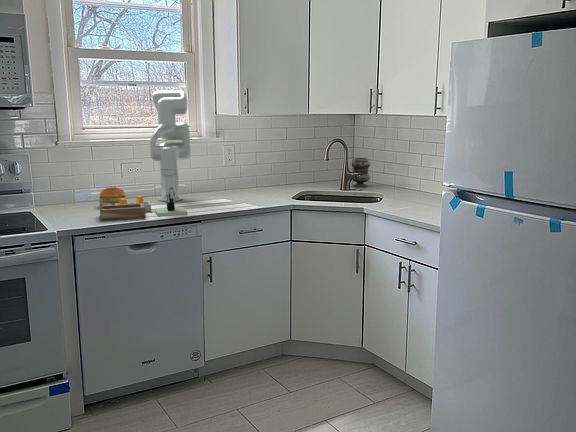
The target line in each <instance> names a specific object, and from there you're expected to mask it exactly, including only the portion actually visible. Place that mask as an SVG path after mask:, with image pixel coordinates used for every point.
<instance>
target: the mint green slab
mask: <svg viewBox="0 0 576 432" xmlns="http://www.w3.org/2000/svg"><path fill="white" fill-rule="evenodd" d="M167 205H168V200H167V201H166V206H167ZM154 212H155V214H156V216H157V217H169V216H170V217H171V216H182V215H185V216H186V215H188V211H187V210H186V209H185V207H183V206H181V207H179V206H178V207H177V206H176V207H175V210H174V211H168V210H167V207H165V208H164V207H162V208H155V209H154Z"/></svg>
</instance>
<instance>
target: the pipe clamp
mask: <svg viewBox="0 0 576 432" xmlns="http://www.w3.org/2000/svg"><path fill="white" fill-rule="evenodd" d="M143 202H144V196H143V195H137V196H136V199H135V203H134V204H137V203H143ZM128 203H129V202H127V198H125V199H124V198H122V199H120V204H128ZM143 205H144V204H143Z"/></svg>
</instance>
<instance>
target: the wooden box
mask: <svg viewBox="0 0 576 432" xmlns="http://www.w3.org/2000/svg"><path fill="white" fill-rule="evenodd" d="M99 217H100V222H105V221H106V220H108V221H119V220H132V219H133V220H134V219H135V220H136V219H146V212H145V207H144V205H143V203H137V204H120V205H103V204H102V200H100V199H99Z"/></svg>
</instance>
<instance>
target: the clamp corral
mask: <svg viewBox="0 0 576 432" xmlns="http://www.w3.org/2000/svg"><path fill="white" fill-rule="evenodd" d="M127 203H128V204H134V203H135V202H127ZM143 204H144V207H145V213H146V212H152V204H151V202H150V201H143ZM115 205H120V203H115Z"/></svg>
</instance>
